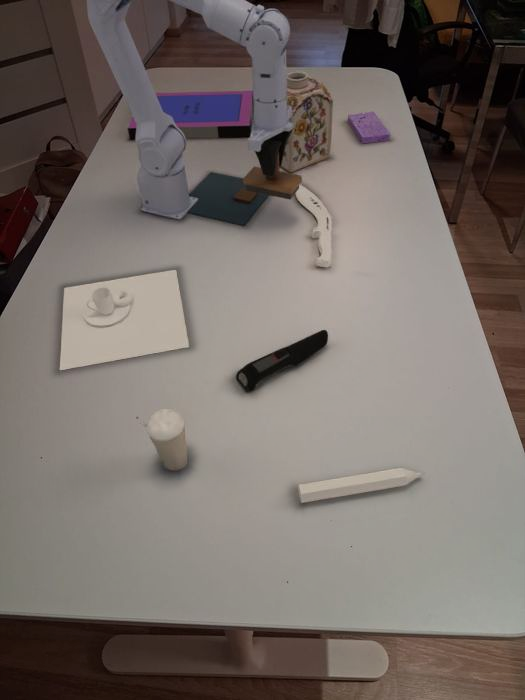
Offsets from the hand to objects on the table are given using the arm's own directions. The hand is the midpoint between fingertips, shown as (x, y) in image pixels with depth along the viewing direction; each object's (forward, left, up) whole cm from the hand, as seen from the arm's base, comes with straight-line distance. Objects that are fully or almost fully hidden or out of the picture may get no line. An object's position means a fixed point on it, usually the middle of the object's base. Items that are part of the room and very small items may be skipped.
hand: (271, 170), depth 101 cm
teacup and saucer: (-12, -36, -11) cm, 39 cm away
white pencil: (+34, -51, -11) cm, 62 cm away
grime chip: (-8, +4, -10) cm, 14 cm away
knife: (+8, +1, -11) cm, 13 cm away
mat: (-12, +3, -10) cm, 16 cm away
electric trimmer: (+17, -36, -11) cm, 41 cm away
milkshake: (+10, -57, -11) cm, 58 cm away
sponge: (+7, +43, -11) cm, 45 cm away
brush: (0, 0, -4) cm, 4 cm away
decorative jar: (-5, +25, -11) cm, 28 cm away
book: (-37, +34, -11) cm, 52 cm away
